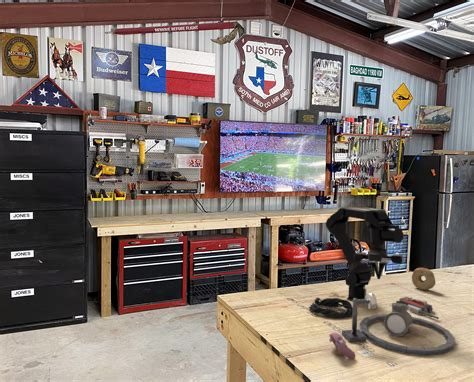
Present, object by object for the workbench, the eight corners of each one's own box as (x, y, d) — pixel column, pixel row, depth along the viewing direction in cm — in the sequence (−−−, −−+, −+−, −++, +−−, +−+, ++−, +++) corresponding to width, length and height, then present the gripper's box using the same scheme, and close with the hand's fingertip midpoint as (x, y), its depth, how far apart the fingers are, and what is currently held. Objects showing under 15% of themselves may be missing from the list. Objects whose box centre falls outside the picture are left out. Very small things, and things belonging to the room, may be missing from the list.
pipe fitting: (407, 339, 140) (407, 307, 140) (383, 334, 145) (383, 304, 145) (417, 331, 149) (417, 302, 150) (394, 327, 154) (394, 299, 155)
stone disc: (409, 287, 198) (411, 266, 197) (412, 285, 201) (414, 265, 200) (432, 292, 191) (434, 271, 190) (435, 291, 194) (436, 269, 193)
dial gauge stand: (349, 342, 137) (351, 297, 136) (341, 334, 143) (343, 291, 142) (375, 340, 139) (377, 296, 138) (366, 333, 145) (368, 290, 144)
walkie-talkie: (392, 305, 174) (436, 322, 157) (392, 295, 173) (437, 311, 156) (406, 302, 178) (450, 318, 161) (406, 292, 178) (451, 307, 161)
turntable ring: (349, 339, 139) (349, 335, 139) (371, 312, 165) (372, 308, 165) (449, 364, 124) (449, 359, 123) (457, 330, 149) (457, 325, 149)
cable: (358, 312, 165) (359, 302, 165) (344, 323, 154) (345, 312, 153) (319, 303, 175) (319, 292, 175) (303, 312, 164) (303, 301, 164)
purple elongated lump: (333, 350, 135) (324, 331, 134) (345, 343, 135) (337, 325, 134) (344, 365, 125) (334, 345, 124) (357, 358, 125) (348, 338, 125)
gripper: (349, 242, 167) (350, 281, 167) (399, 244, 157) (400, 285, 157) (356, 238, 176) (357, 275, 176) (403, 240, 167) (404, 279, 167)
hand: (378, 278), depth 169 cm, fingers closed
